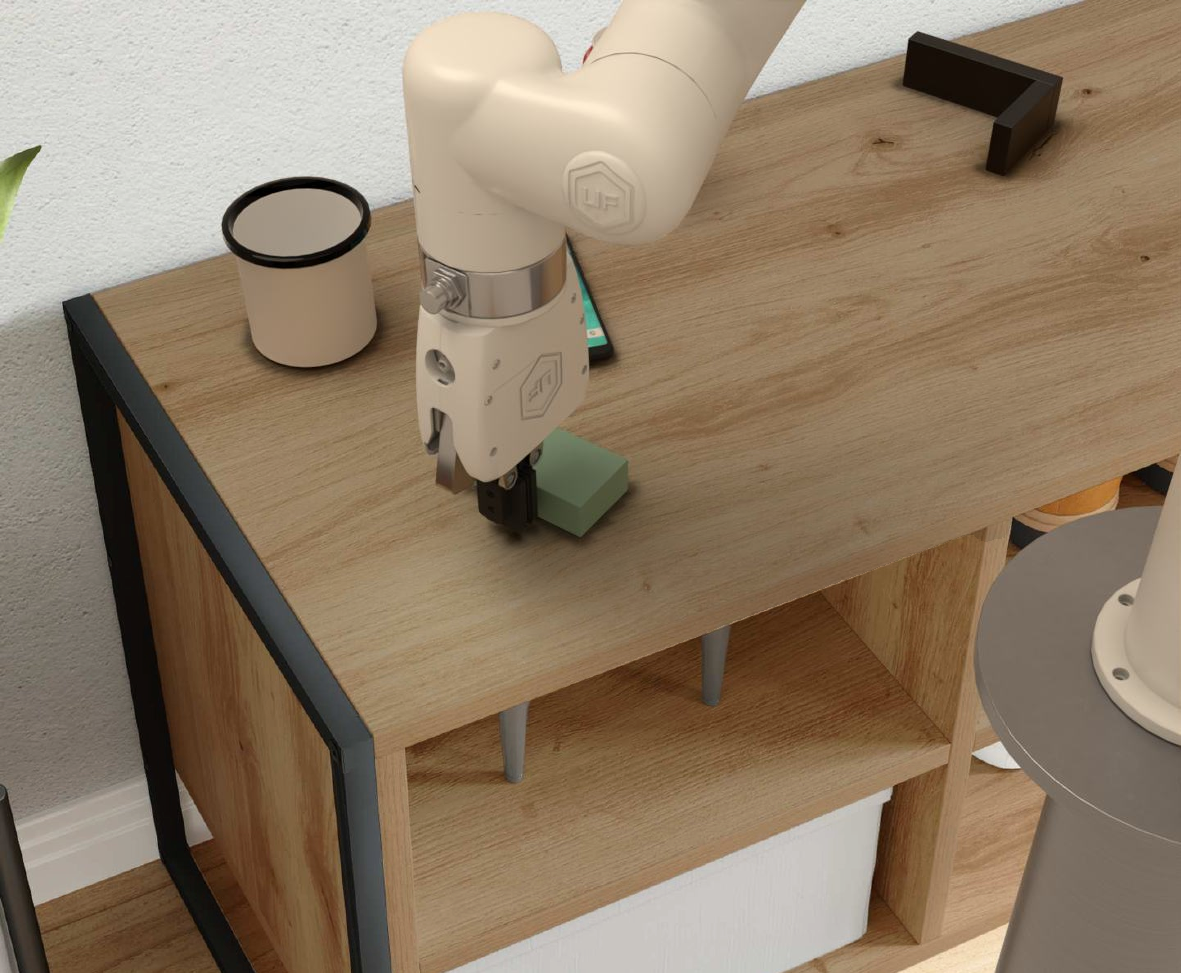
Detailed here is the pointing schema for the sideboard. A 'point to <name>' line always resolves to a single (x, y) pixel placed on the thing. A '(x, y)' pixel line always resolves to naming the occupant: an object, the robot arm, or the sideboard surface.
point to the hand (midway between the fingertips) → (508, 516)
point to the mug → (304, 268)
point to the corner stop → (987, 92)
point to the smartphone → (592, 317)
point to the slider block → (577, 481)
